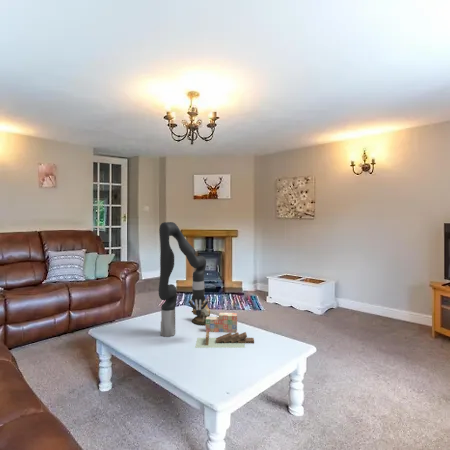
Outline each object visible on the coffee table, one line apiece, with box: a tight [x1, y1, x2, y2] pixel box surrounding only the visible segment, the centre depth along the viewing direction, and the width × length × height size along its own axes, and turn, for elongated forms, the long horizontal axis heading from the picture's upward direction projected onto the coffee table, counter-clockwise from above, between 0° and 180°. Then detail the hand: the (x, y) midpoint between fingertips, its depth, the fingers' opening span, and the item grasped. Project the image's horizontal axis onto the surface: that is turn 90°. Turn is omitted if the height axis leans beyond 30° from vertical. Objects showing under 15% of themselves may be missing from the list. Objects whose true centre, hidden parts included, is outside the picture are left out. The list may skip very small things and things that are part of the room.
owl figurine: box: [191, 301, 211, 327], centre depth 243 cm, size 18×12×17 cm, turn 51°
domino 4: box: [231, 331, 248, 343], centre depth 203 cm, size 2×5×10 cm
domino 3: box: [224, 332, 240, 343], centre depth 204 cm, size 2×5×10 cm
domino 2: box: [215, 333, 233, 343], centre depth 204 cm, size 2×5×10 cm
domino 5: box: [238, 337, 255, 344], centre depth 204 cm, size 2×5×10 cm
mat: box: [194, 337, 246, 349], centre depth 203 cm, size 30×16×1 cm, turn 90°
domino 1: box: [205, 331, 210, 345], centre depth 203 cm, size 2×5×10 cm
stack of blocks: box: [205, 312, 238, 334], centre depth 223 cm, size 21×6×12 cm, turn 85°
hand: (198, 315), depth 203 cm, fingers closed
